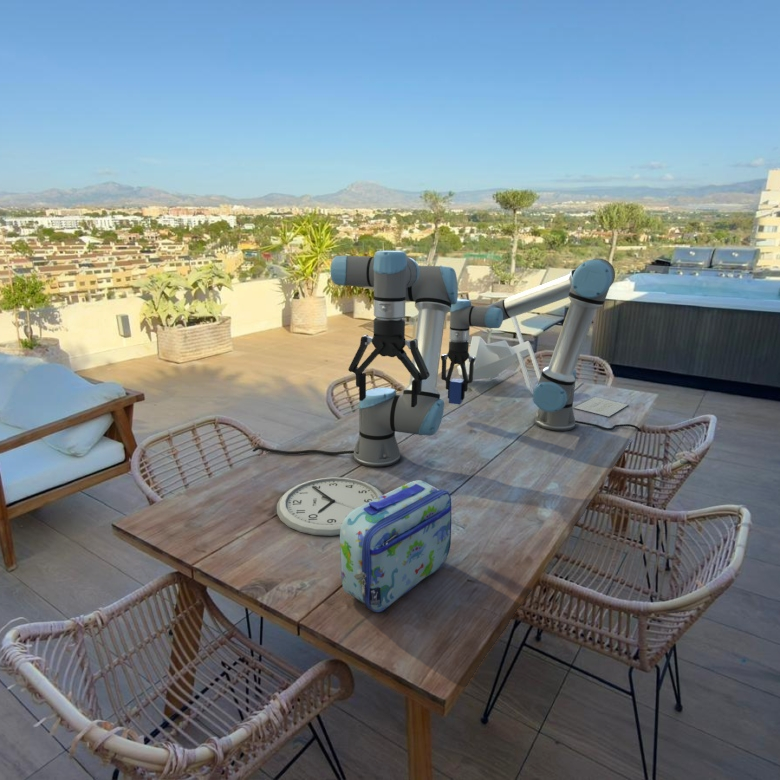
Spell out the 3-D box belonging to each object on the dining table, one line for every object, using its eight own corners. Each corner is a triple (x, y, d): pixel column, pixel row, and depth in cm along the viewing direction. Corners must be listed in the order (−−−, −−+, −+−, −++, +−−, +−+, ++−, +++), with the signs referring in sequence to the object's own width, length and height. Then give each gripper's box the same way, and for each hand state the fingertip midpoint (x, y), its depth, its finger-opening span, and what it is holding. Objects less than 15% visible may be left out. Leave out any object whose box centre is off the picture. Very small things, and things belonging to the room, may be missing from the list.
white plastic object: (478, 423, 260) (457, 400, 235) (460, 349, 282) (438, 321, 257) (551, 399, 247) (536, 372, 223) (525, 323, 270) (510, 291, 245)
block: (448, 403, 206) (449, 381, 204) (451, 399, 211) (452, 378, 208) (460, 404, 205) (461, 382, 202) (462, 401, 209) (464, 379, 206)
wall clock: (392, 527, 129) (268, 531, 127) (391, 533, 130) (269, 537, 127) (383, 473, 158) (282, 475, 155) (383, 478, 158) (282, 480, 156)
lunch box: (369, 626, 100) (370, 530, 93) (334, 598, 107) (332, 507, 101) (455, 567, 117) (460, 483, 111) (419, 547, 124) (423, 467, 118)
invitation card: (608, 416, 214) (573, 407, 224) (608, 416, 214) (573, 408, 224) (628, 404, 229) (594, 396, 238) (628, 405, 229) (594, 397, 238)
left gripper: (334, 316, 125) (336, 401, 131) (436, 324, 117) (432, 413, 124) (347, 312, 131) (347, 392, 138) (444, 319, 124) (440, 403, 130)
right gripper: (434, 340, 200) (431, 398, 207) (480, 344, 194) (476, 403, 201) (439, 336, 206) (436, 392, 213) (483, 340, 201) (480, 398, 208)
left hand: (387, 402), depth 131 cm, fingers open, 13 cm apart
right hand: (456, 398), depth 207 cm, fingers closed on block, 5 cm apart
